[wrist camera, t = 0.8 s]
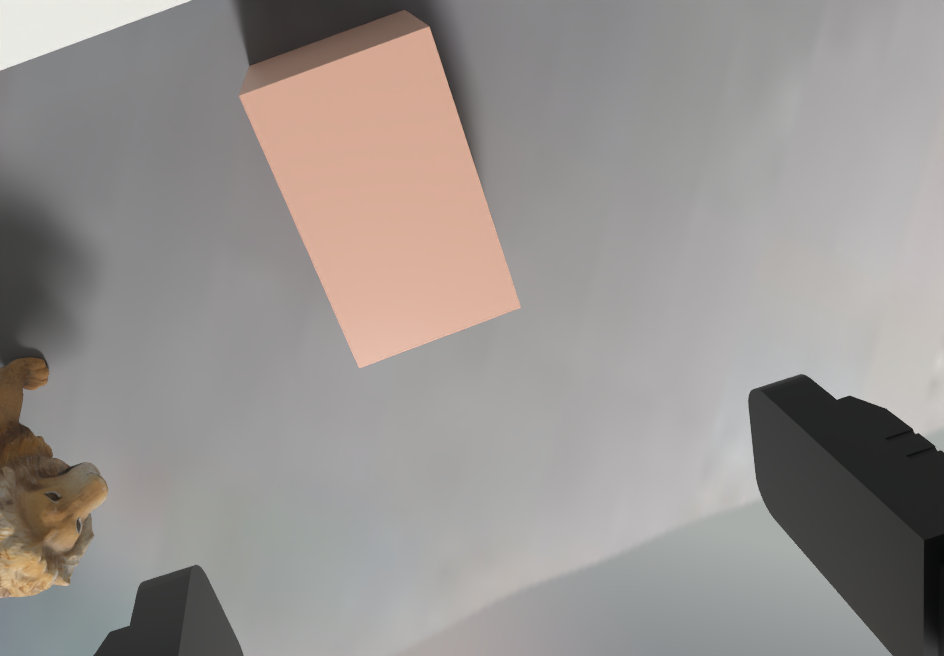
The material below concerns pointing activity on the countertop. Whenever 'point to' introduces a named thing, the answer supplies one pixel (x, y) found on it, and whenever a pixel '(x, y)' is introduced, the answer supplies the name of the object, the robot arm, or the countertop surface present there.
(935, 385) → the countertop surface
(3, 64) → the baseplate
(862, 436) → the robot arm
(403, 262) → the terracotta brick
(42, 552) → the lion figurine
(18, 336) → the countertop surface
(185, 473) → the countertop surface
